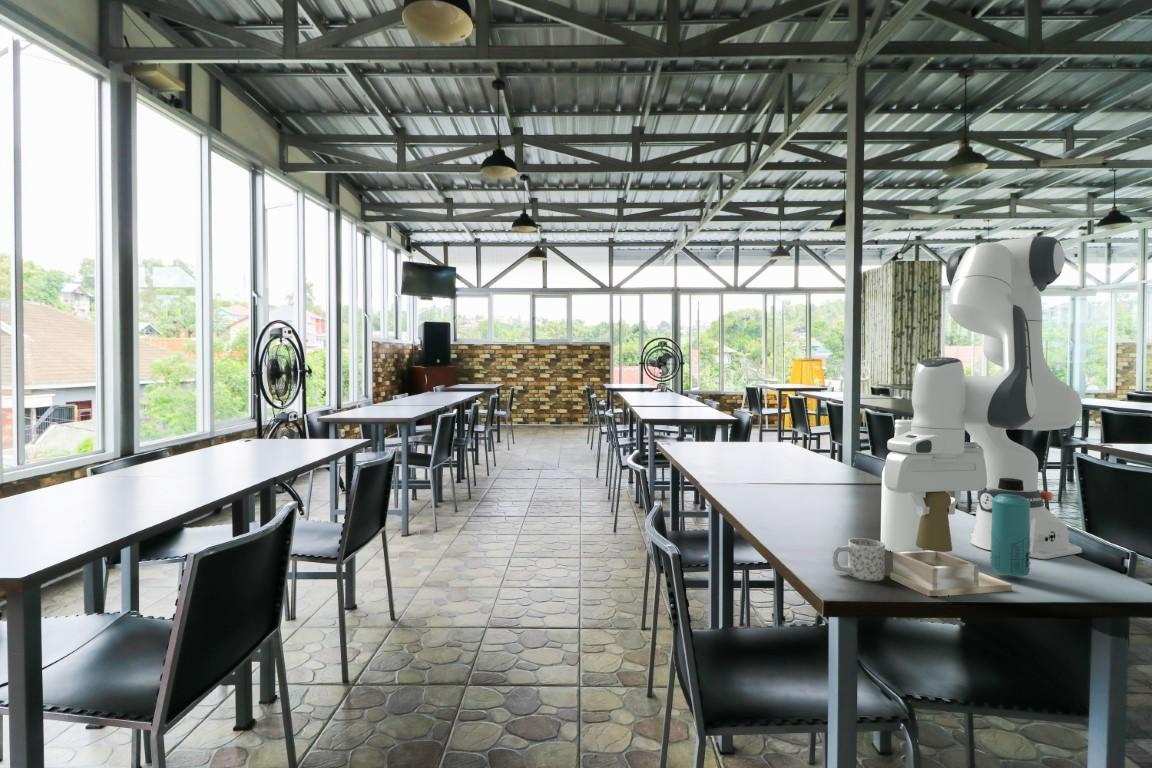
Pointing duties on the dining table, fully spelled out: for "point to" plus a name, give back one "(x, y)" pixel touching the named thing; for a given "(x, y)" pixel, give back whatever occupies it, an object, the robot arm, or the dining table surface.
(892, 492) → the alcohol
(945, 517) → the cork
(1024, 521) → the beverage bottle
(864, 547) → the mug
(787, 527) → the dining table surface
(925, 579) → the open box
